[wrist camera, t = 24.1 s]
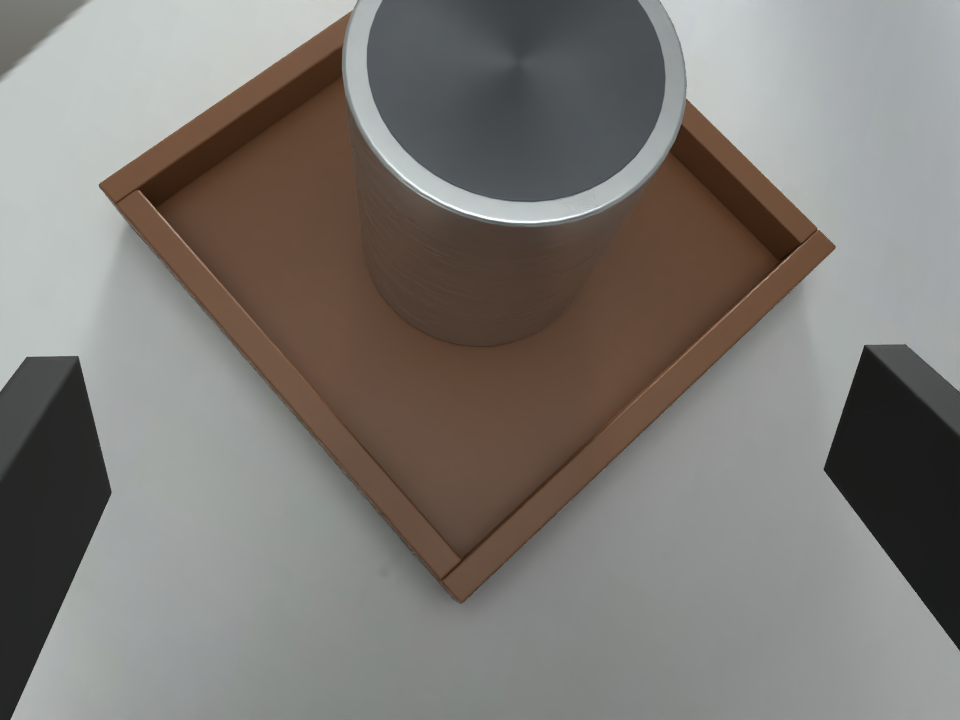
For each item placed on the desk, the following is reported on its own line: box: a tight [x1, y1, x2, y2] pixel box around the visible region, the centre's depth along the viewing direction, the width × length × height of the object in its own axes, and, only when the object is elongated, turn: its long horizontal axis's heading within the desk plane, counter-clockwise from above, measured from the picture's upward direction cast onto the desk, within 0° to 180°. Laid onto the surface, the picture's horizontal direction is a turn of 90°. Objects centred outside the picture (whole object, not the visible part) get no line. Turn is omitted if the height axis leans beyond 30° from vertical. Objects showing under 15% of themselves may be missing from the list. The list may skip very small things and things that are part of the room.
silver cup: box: [342, 0, 687, 346], centre depth 21 cm, size 7×7×9 cm
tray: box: [99, 10, 836, 603], centre depth 25 cm, size 16×16×2 cm
